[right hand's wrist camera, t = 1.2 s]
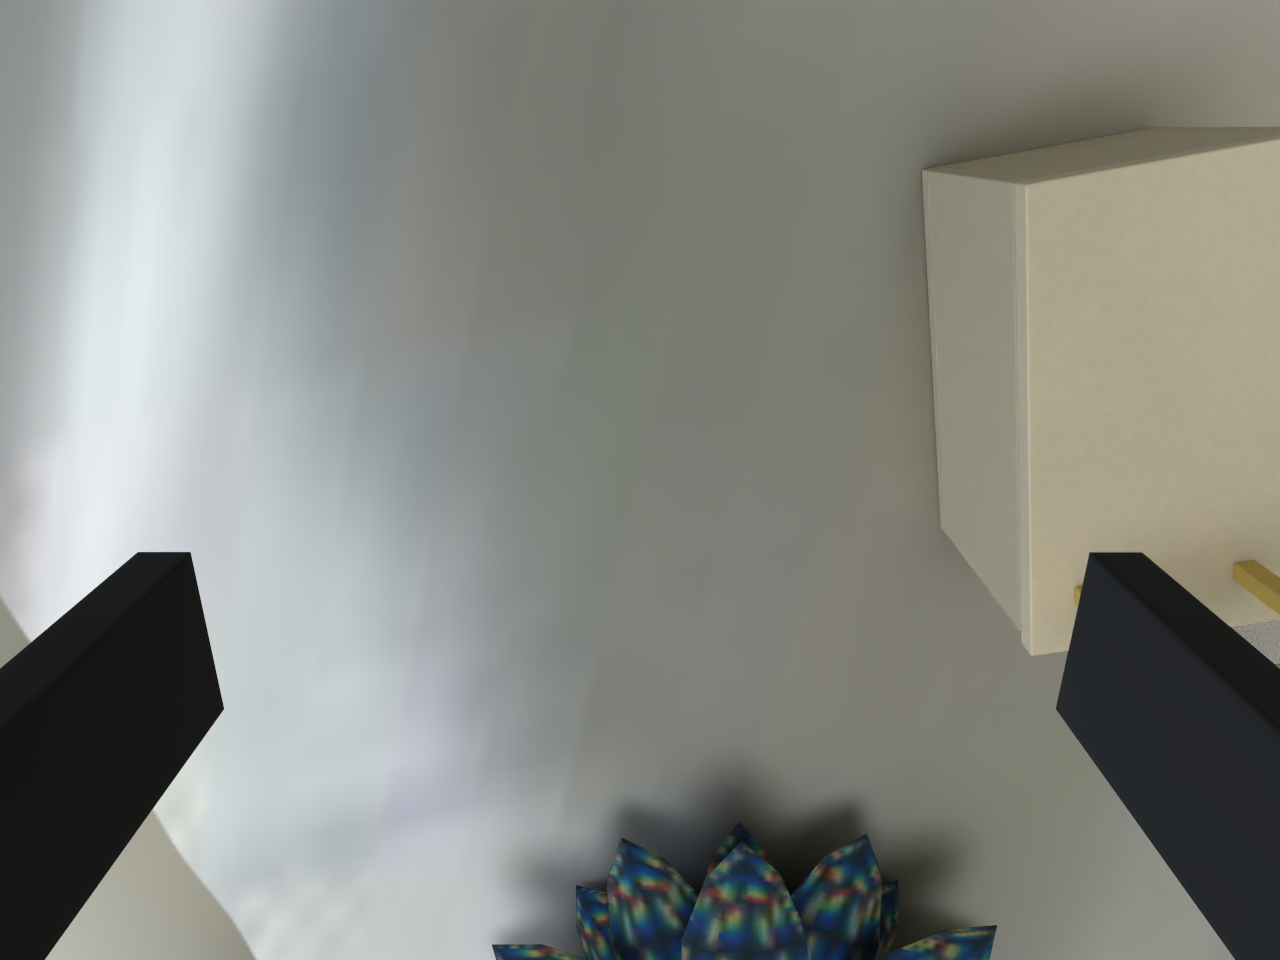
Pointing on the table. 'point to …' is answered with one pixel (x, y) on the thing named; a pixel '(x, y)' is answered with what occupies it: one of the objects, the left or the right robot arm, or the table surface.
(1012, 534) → the chest
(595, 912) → the decorative ornament
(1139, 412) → the lid
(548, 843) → the table surface
